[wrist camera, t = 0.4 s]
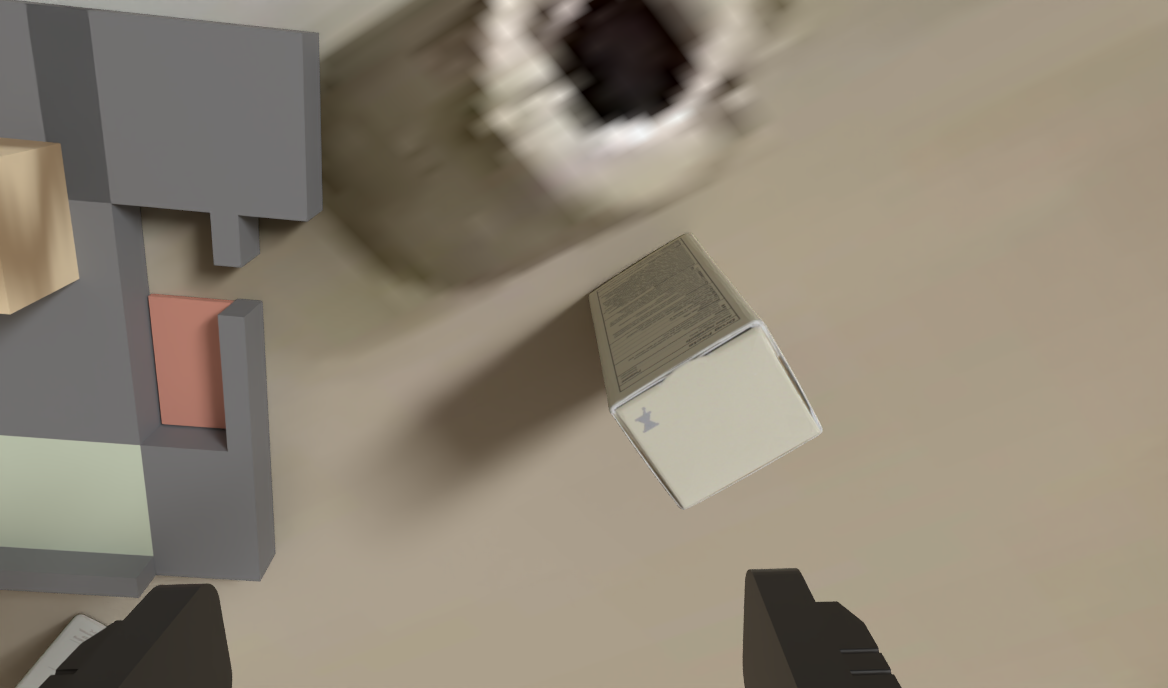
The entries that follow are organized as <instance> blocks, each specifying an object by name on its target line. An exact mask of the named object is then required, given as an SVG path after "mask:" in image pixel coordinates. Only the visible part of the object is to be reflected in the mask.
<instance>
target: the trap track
mask: <svg viewBox="0 0 1168 688" xmlns="http://www.w3.org/2000/svg"><path fill="white" fill-rule="evenodd" d="M0 137H1V138H11V139H21V140H32V141H42V142H52V143H60V144H61V151H62V158H63V166H64V173H65V180H66V187H67V194H68V201H69V208H70V215H71V223H72V230H73V237H74V244H75V251H76V258H77V265H78V273H79V279H78V280H76V281H74V282H72V283H70V284H68V285H66V286H64V287H63V288H61V289H59V290H57V291H55V292H53V293H51V294H49V295H47V296H45V297H43V298H41V299H39V300H37V301H35V302H33V303H32V304H30V305H28V306H26V307H24V308H22V309H20V310H18V311H16V312H14V313H12V314H0V590H15V591H32V592H49V593H66V594H83V595H99V596H116V597H133V598H139V597H140V596H141V594H142V593H143V592H144V590H145V589H146V588H147V586H148V585H149V583H150V582H151V581H152V579H153V578H154V577H155V575H164V576H181V577H197V578H213V579H229V580H246V581H261V579H262V577H263V575H264V574H265V572H266V570H267V568H268V566H269V564H270V562H271V561H272V559H273V557H274V555H275V537H274V517H273V498H272V478H271V459H270V439H269V420H268V400H267V381H266V361H265V342H264V322H263V303H262V301H259V300H247V299H236V300H235V301H231V300H220V299H208V298H196V297H184V296H172V295H160V294H151V295H149V286H148V277H147V268H146V258H145V249H144V239H143V230H142V221H141V211H140V206H144V207H155V208H166V209H176V210H187V211H198V212H209V213H210V219H211V232H212V246H213V259H214V265H218V266H230V267H243V266H244V265H245V264H247V263H248V262H249V261H251V260H252V259H253V258H255V257H256V256H257V255H259V254H260V244H259V225H258V217H264V218H275V219H286V220H296V221H309V220H310V219H311V218H313V217H314V216H315V215H317V214H318V213H319V212H321V211H322V163H321V115H320V66H319V33H315V32H306V31H296V30H287V29H278V28H268V27H259V26H250V25H241V24H231V23H222V22H213V21H203V20H194V19H185V18H175V17H166V16H157V15H148V14H138V13H129V12H120V11H110V10H101V9H92V8H82V7H73V6H64V5H55V4H45V3H36V2H27V1H17V0H0Z"/></svg>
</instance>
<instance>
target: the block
mask: <svg viewBox="0 0 1168 688" xmlns="http://www.w3.org/2000/svg"><path fill="white" fill-rule="evenodd" d="M78 279H79V273H78V265H77V258H76V251H75V244H74V237H73V230H72V223H71V215H70V208H69V201H68V194H67V187H66V180H65V173H64V166H63V158H62V151H61V144H60V143H52V142H42V141H32V140H21V139H11V138H1V137H0V314H12V313H14V312H16V311H18V310H20V309H22V308H24V307H26V306H28V305H30V304H32V303H33V302H35V301H37V300H39V299H41V298H43V297H45V296H47V295H49V294H51V293H53V292H55V291H57V290H59V289H61V288H63V287H64V286H66V285H68V284H70V283H72V282H74V281H76V280H78Z"/></svg>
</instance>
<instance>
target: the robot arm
mask: <svg viewBox="0 0 1168 688" xmlns="http://www.w3.org/2000/svg"><path fill="white" fill-rule="evenodd" d="M743 676H744V685H745V688H901V686H900V684H899V683H898V681H897V679H896V677H895V676H894V674H891V669H890V667H889V665H888V664H887V662H886V660H885V658H884V657H883V655H882V653H879V650H878V646H877V644H876V643H875V641H874V639H873V638H872V636H871V634H870V632H869V631H868V629H867V627H866V625H865V624H864V622H862V621H861V620H860V619H859V618H857V617H856V616H855V615H854V614H852V613H851V612H850V611H849V610H847V609H846V608H845V607H844V606H842V605H841V604H840V603H839V602H815V600H814V598H813V596H812V594H811V592H810V590H809V588H808V586H807V584H806V582H805V580H804V578H803V576H802V574H801V572H800V571H799V570H798V569H797V568H785V569H750V570H748V571H747V573H746V578H745V598H744V630H743ZM39 688H232V669H231V663H230V657H229V652H228V646H227V640H226V634H225V629H224V623H223V617H222V611H221V606H220V600H219V595H218V593H217V590H216V589H215V587H214V586H213V585H211V584H179V585H159V586H156V587H154V588H153V589H152V590H151V591H150V592H149V593H148V594H147V595H146V596H145V597H144V598H143V600H142V601H141V602H140V603H139V604H138V605H137V606H136V607H135V608H134V609H133V610H132V612H131V613H130V614H129V615H128V616H127V617H126V618H125V619H124V620H122V621H115V622H114V623H112V624H111V625H109V626H107V627H106V628H104V629H103V630H101V631H100V632H98V633H96V634H95V635H93V636H92V637H90V638H89V639H87V640H86V641H84V642H82V643H81V644H80V645H79V646H78V647H77V648H76V649H75V650H74V651H73V652H72V653H71V654H70V655H69V656H68V657H67V658H66V659H65V661H64V662H63V663H62V664H61V665H60V666H59V667H58V668H57V669H56V673H55V675H50V676H49V677H48V678H47V679H46V680H45V681H44V682H43V683H42V684H41V685H40V686H39Z"/></svg>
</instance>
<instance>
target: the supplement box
mask: <svg viewBox="0 0 1168 688" xmlns="http://www.w3.org/2000/svg"><path fill="white" fill-rule="evenodd" d="M104 628H106V626H105V625H103V624H101V623H99V622H97V621H96V620H94V619H91V618H89V617H87V616H85V615H83V614H78V615H76V616H75V617H74V618H73V619H72V620H71V621H70V623H69V624H68V625H67V626H66V627H65V629H64V630H63V631H62V632H61V633H60V634H59V636H58V637H57V638H56V639H55V640H54V642H53V643H52V644H51V645H50V646H49V647H48V649H47V650H46V651H45V652H44V654H43V655H42V656H41V657H40V658H39V659H38V661H37V662H36V663H35V664H34V665H33V667H32V668H31V669H30V670H29V671H28V672H27V674H26V675H25V676H24V677H23V678H22V680H21V681H20V682H19V683H18V684H17V685H16V687H15V688H39V686H40V685H41V684H42V683H43V682H44V681H45V680H46V679H47V678H48V677H49V676H50V675H55V673H56V669H57V668H58V667H59V666H60V665H61V664H62V663H63V662H64V661H65V659H66V658H67V657H68V656H69V655H70V654H71V653H72V652H73V651H74V650H75V649H76V648H77V647H78V646H79V645H80V644H81V643H82V642H84V641H86V640H87V639H89V638H90V637H92V636H93V635H95V634H96V633H98V632H100V631H101V630H103V629H104Z"/></svg>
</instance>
